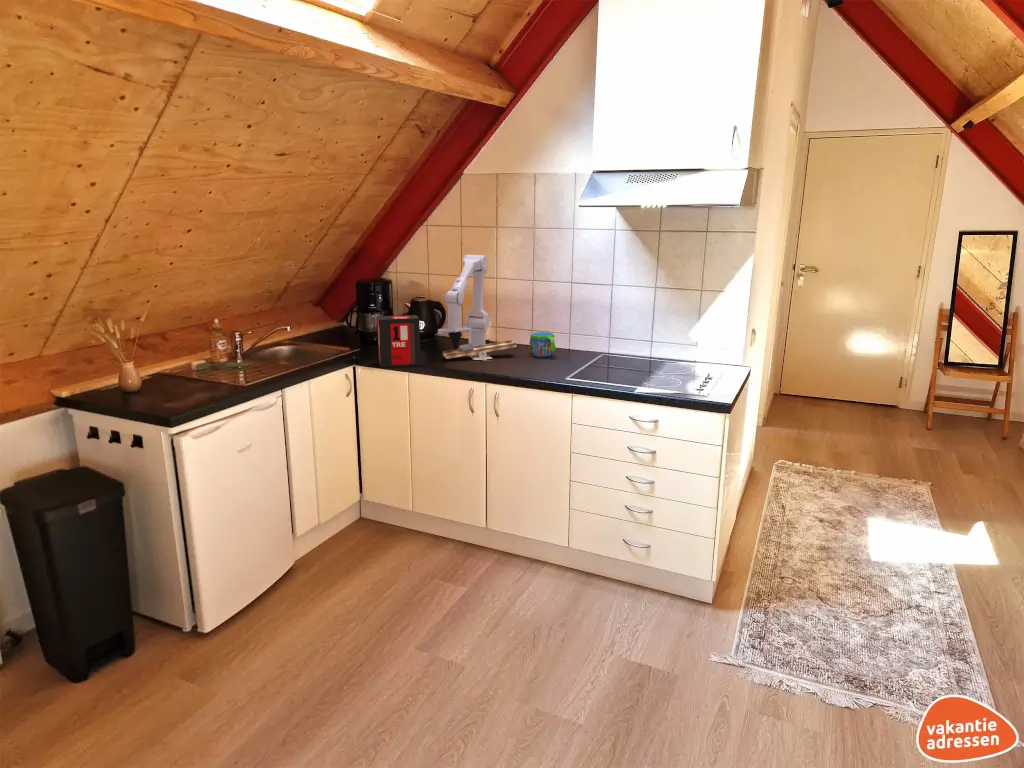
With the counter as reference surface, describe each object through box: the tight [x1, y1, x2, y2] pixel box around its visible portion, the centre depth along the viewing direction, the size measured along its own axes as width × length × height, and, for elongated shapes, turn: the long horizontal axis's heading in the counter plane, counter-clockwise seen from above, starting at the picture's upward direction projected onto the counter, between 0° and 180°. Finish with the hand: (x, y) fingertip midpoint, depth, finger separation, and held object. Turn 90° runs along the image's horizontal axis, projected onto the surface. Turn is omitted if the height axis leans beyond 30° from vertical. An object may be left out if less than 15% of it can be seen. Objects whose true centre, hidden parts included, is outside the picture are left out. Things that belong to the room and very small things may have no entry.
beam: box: [442, 339, 518, 360], centre depth 294 cm, size 32×7×2 cm, turn 108°
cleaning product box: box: [376, 314, 421, 368], centre depth 280 cm, size 16×9×20 cm, turn 105°
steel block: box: [458, 343, 474, 352], centre depth 292 cm, size 5×5×2 cm
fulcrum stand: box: [467, 352, 493, 361], centre depth 295 cm, size 11×8×4 cm
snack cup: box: [528, 331, 556, 358], centre depth 299 cm, size 16×10×10 cm
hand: (455, 349), depth 291 cm, fingers closed
